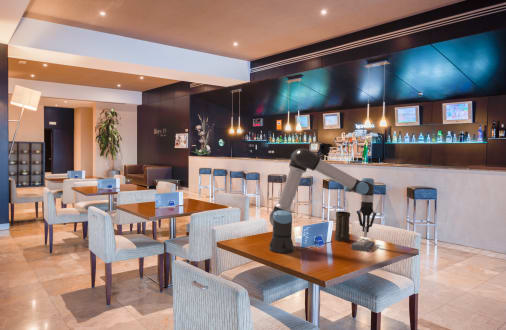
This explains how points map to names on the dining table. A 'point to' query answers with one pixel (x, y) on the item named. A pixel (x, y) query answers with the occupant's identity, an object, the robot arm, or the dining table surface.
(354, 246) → the grey dice tray
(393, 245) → the dining table surface
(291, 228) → the robot arm
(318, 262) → the dining table surface
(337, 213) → the beer stein
